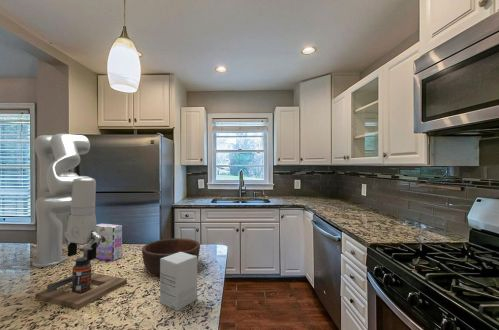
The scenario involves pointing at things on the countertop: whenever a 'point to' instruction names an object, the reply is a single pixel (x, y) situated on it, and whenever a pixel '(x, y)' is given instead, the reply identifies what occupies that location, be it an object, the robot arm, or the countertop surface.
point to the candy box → (109, 242)
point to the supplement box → (178, 280)
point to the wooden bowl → (166, 251)
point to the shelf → (83, 299)
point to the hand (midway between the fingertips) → (81, 257)
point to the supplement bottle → (81, 275)
